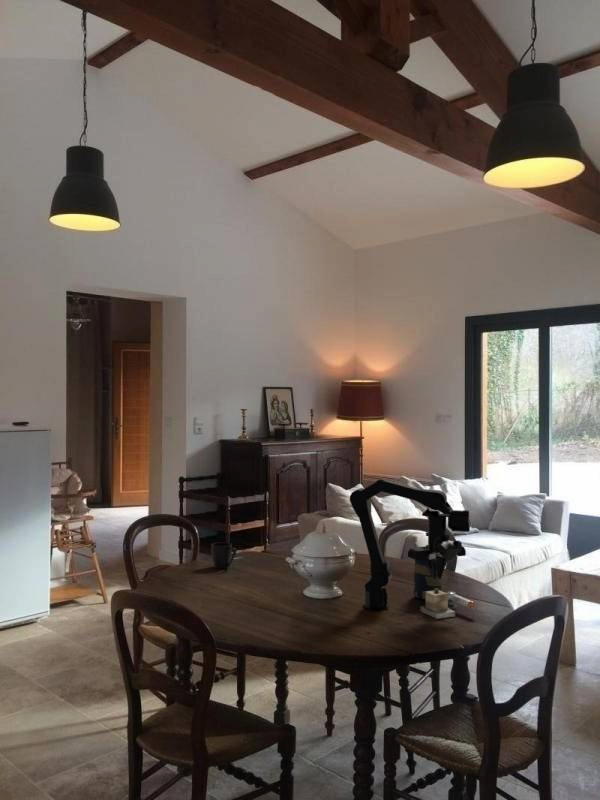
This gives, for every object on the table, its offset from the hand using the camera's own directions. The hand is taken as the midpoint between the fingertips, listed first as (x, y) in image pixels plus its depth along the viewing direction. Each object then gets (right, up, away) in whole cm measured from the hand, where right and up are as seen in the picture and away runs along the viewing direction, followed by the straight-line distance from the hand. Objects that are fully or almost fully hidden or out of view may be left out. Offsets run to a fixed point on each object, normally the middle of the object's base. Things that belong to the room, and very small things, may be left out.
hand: (436, 579), depth 225 cm
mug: (-75, -11, +60) cm, 96 cm away
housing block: (0, -9, 0) cm, 9 cm away
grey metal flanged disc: (+6, -11, +6) cm, 14 cm away
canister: (0, -11, +17) cm, 21 cm away
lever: (+8, -8, +2) cm, 12 cm away
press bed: (0, -11, 0) cm, 11 cm away
